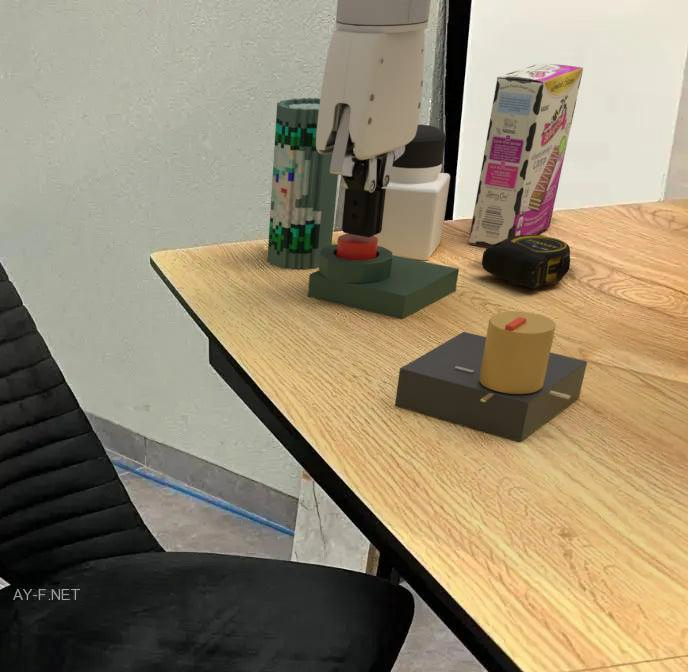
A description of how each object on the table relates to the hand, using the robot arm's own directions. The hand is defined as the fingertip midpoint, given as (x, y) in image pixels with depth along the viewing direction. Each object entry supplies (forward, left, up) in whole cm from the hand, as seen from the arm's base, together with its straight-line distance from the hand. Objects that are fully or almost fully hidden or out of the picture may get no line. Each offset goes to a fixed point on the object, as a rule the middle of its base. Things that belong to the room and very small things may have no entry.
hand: (361, 232), depth 104 cm
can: (+10, -6, -6) cm, 13 cm away
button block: (-2, -2, -6) cm, 6 cm away
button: (0, 0, -2) cm, 2 cm away
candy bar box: (-3, -27, -6) cm, 28 cm away
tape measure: (-11, -13, -6) cm, 18 cm away
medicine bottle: (+4, -16, -6) cm, 18 cm away
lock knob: (-23, +17, -3) cm, 29 cm away
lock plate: (-22, +16, -6) cm, 28 cm away
